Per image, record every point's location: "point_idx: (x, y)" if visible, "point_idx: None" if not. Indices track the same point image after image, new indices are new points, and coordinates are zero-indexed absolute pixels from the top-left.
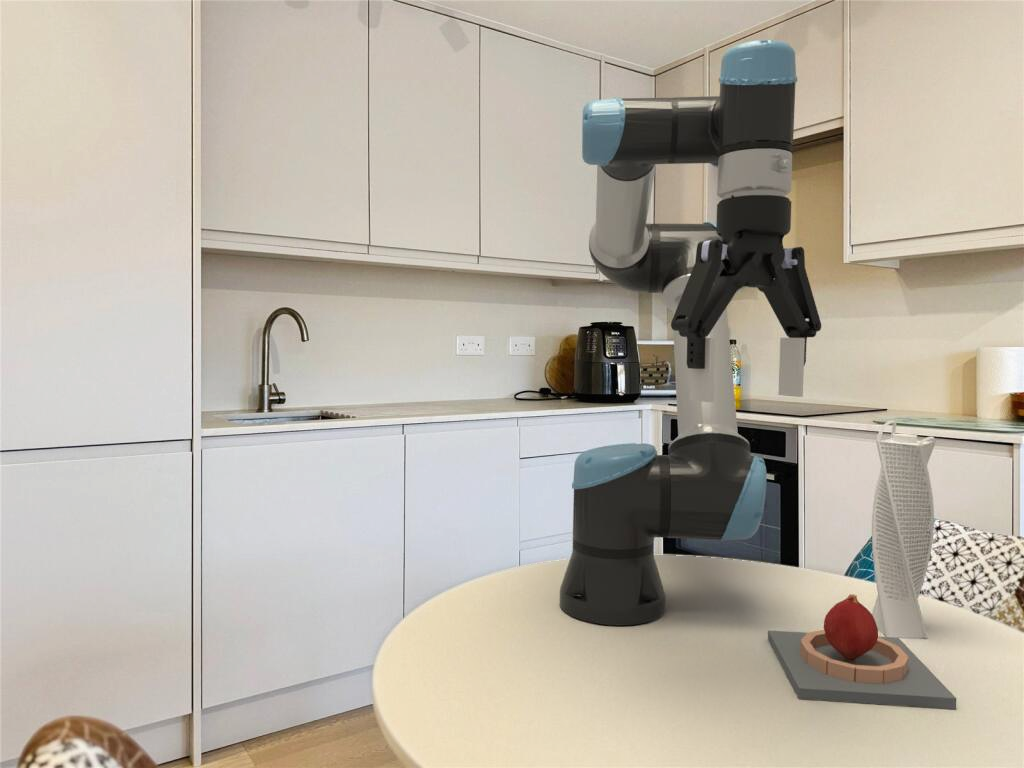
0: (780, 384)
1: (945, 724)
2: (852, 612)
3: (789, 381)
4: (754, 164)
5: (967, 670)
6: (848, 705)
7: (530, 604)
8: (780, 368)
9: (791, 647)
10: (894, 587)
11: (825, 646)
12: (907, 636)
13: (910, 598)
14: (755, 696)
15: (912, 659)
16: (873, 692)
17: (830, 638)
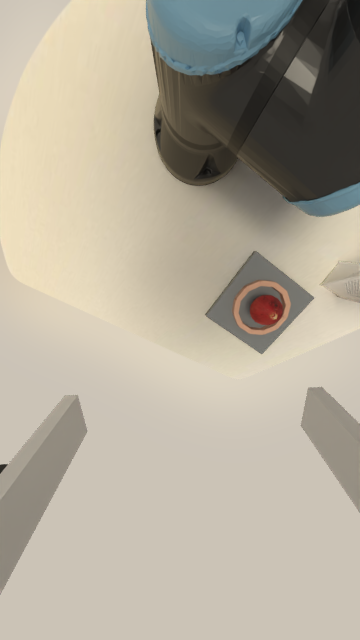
0: (322, 407)
1: (242, 356)
2: (264, 320)
3: (323, 433)
4: None
5: (309, 331)
6: (221, 328)
7: (137, 87)
8: (351, 439)
9: (245, 278)
10: (353, 288)
11: (264, 286)
12: (330, 290)
13: (350, 296)
14: (188, 302)
15: (288, 320)
16: (233, 334)
17: (250, 306)
